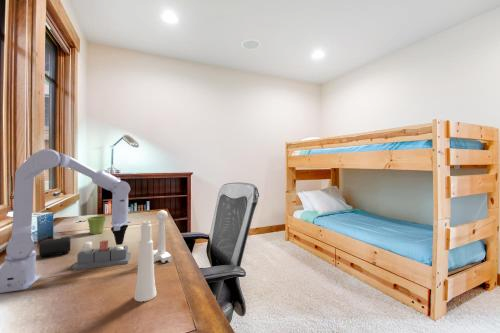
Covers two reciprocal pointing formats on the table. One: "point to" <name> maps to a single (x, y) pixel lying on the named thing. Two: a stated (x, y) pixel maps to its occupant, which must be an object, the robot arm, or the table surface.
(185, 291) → the table surface
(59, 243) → the end cap
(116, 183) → the robot arm
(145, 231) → the cosmetic bottle
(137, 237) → the table surface
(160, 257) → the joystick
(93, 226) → the plant pot
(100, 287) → the table surface
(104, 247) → the salmon rounded peg
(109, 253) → the socket strip
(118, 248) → the far ivory plug
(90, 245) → the near ivory plug
